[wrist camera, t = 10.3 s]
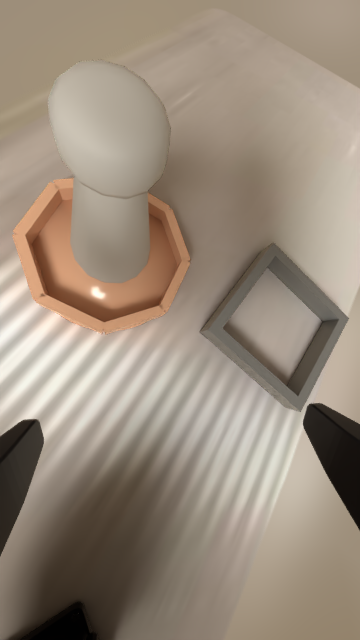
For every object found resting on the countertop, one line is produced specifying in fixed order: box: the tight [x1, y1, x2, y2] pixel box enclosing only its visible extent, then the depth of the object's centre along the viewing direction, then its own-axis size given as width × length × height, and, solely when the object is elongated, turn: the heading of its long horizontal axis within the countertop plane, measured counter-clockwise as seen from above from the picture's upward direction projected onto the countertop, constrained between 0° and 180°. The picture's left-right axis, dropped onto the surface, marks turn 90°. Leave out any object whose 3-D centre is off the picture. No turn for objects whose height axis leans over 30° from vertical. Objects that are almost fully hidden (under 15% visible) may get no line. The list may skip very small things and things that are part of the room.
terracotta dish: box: [12, 178, 191, 335], centre depth 19 cm, size 13×13×2 cm
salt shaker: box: [48, 60, 171, 283], centre depth 14 cm, size 6×6×13 cm
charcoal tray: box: [200, 243, 349, 412], centre depth 23 cm, size 12×12×2 cm
